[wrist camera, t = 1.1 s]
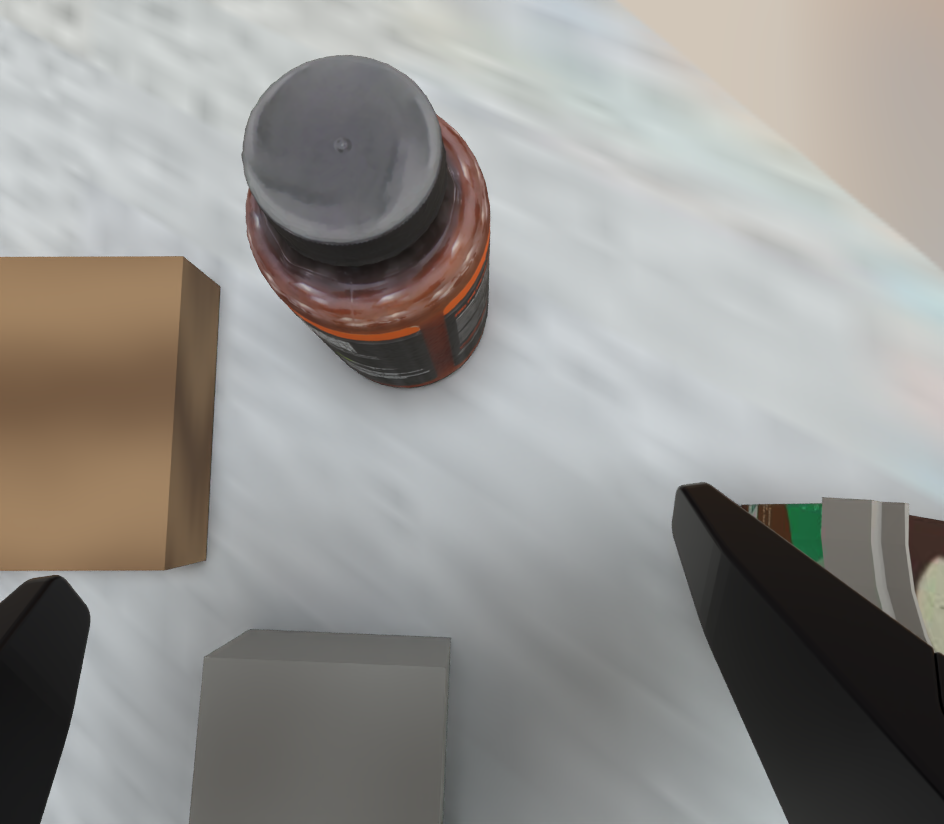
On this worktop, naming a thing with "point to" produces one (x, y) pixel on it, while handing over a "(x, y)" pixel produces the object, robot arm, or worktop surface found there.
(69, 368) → the walnut block
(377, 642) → the slate block
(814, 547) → the food container
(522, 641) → the worktop surface
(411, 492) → the worktop surface
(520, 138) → the worktop surface
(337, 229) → the supplement bottle
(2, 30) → the worktop surface
